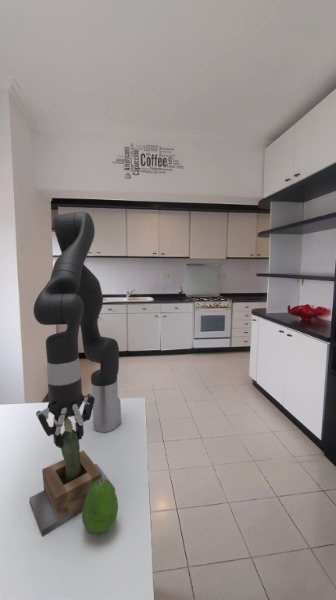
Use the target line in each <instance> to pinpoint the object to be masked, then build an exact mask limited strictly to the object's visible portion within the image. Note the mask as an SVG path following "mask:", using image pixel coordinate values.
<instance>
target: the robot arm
mask: <svg viewBox="0 0 336 600" xmlns="http://www.w3.org/2000/svg"><path fill="white" fill-rule="evenodd" d="M53 229H54V233H55V234H54V235H55V237H56V240H57V243H58V246H59V249H60V253H61V254H60V255H59V256H58V257H57V259H56V260H55V262H54V264H53V268H52V272H51V275H50V279H49V280H48V282H47V283H46V285H45V286H44V288H43V289H42V290H41V291H40V292H39V294H38V295H37V297H36V300H35V301H34V304H33V316H34V318H35V320H36V321H37V322H38V323H39V324H40V325H43V326H53V325H56V326H58V325H66V329H65V330H63V331H61V332H57V333H53V334H51V335H49V336H47V338H46V339H45V349H46V351H45V352H46V377H47V389H48V391H47V392H48V400H49V401H48V403H47V404H48V405H47V407H46V408H44V409H43V410H38V411H36V412H35V416H36V418H37V419H38V421H39V423H40V425H41V427H42V429H43V431H44V432H45V434H46V436H48V437H50V436H53V444H54V445H55V446H56V448H59V449H61V448H62V433H61V432H62V428H63V427H62V426H64V419H66V418H71V417H73V418H74V420H75V423H74V425H75V426H74V427H75V428H74V429H75V431H76V433H77V435H78V438H79V441H80V440H82V439H83V436H84V434H85V433H84V424H85V422H87V421H88V422H89V421H90V419H91V418H92V423H93V429H94V430H95V431H96V432H100V433H106V432H107V433H108V432H111V431H113V430H115V429H117V428H118V426H119V425H121V424H122V407H121V406H122V405H121V404H122V403H121V399H120V397H119V391H118V390H119V389H118V388H119V387H118V376H119V375H118V374H119V369H120V365H119V363H120V348H119V347H120V346H119V344H118V341H117V339H114V338H113V337H107V336H101V334H100V330H99V324H98V322H99V317H100V315H101V312H102V308H103V304H104V297H103V296H104V295H103V292H102V287H101V283H100V280H99V279H98V278H97V276H96V275H95V274H94V273H93V272H92V271H91V270H90V269H89V268H88V267H87V266H86V265H85V261H86V259H87V257H88V254H89V252H90V249H91V246H92V244H93V242H94V238H95V232H96V231H95V229H96V228H95V225H94V220H93V218H92V216H91V214H90V213H88V212H86V211H74V212H66V213H60V214H59V213H58V214H55V216H54V218H53ZM79 332H81V340H82V347H83V353H84V355H85V358H86V359H87V360H88V361H90V362H92V363H97V364H99V365H100V366H99V369H96V370H95V371H94V372H92V373H91V375H90V387H91V394H90V393H87V394H86V395H84V394H83V385H82V369H81V362H80V355H79V354H80V352H79ZM83 403H84V405H83ZM82 405H83V409H82V414H81V412H80V409H81V406H82ZM50 414H52V415H53V419H52V420H53V423H52V426H50V425H49V423H48V421H47V420H48V419H49V415H50Z"/></svg>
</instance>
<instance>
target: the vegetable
mask: <svg viewBox="0 0 336 600" xmlns="http://www.w3.org/2000/svg"><path fill="white" fill-rule="evenodd" d="M63 426H64V431H63V432H62V433H61V434H62V448H60V451H61V455H62V458H63V460H64V461H65V467H66V470H65V473H66V483H68V482H70V481H72V480H74V479H76V478H78V477H80V472H81V469H80V452H81V451H80V440H79V438H78V435H77V433H76V429H75V430H74V427H73V423H72V421H71V419H70V417H68V418H66V419H64V422H63Z"/></svg>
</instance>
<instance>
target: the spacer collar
mask: <svg viewBox="0 0 336 600" xmlns="http://www.w3.org/2000/svg"><path fill="white" fill-rule="evenodd" d="M80 469H81V472H80V477H78V478H76V479H74V480H72V481H70V482H68V483H66V473H65V470H66V467H65V461H64V459H62V460H60V461H58V462H55V463H53V464H51V465H49V466H47V467H45V468H42V471H41V472H42V481H43V484H42V485H43V490H42V491H40V492H37V493H36V494H34V495H33V496H30V497H29V499H28V501H29V506H30V508H31V510H32V512H33V515H34V518H35V520H36V524H37V526H38V530H39V532H40V535H41V537H44V536H45V535H47V534H49V533H51V532H53V531H54V530H56V529H57V528H59V527H60V526H62V525H64V524H66V523H68V522H69V521H70V520H72V519H74V518H75V517H78V516H79V515H80V514H82V508H83V505H84V502H85V499H86V496H87V494H88V491H89V489H90V487H91V485H92V484H93V483H94V481H96V480H98V479H106V480H108V481H109V482H110V483H111V484H112V486H113V488H114V491H115V492H116V487H115V486H114V484H113V483H112V481H111V480H110V479H109V478H108V477H107V475H106V474H105V472H104V471H103V470H102V469H101V467H100V466H99V465H98V463H94V462H93V460H92V459H91V458H90V457H89V456H88V454H87V453H86V451H85V450H81V451H80Z"/></svg>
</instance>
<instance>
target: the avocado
mask: <svg viewBox="0 0 336 600" xmlns="http://www.w3.org/2000/svg"><path fill="white" fill-rule="evenodd" d="M110 482H111V481H110ZM110 482H109V481H108V480H106V479H98V480H96V481H94V483H93V484H92V485H91V487H90V489H89V491H88V494H87V496H86V499H85V502H84V505H83V508H82V513H81V514H82V516H81V517H82V524H83V526H84V528H85V530H86V531H87V532H88V533H89V534H90V535H95V536H103V535H105V534H106V533H108V532H109V531H110V530H111V529H112V528H113V526H114V524H115V523H116V519H117V517H118V511H119V502H118V496H117V494H116V490H115V491H114V488H113V486H114V485H113V486H112V484H113V483H112V482H111V483H112V484H111V483H110Z"/></svg>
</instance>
